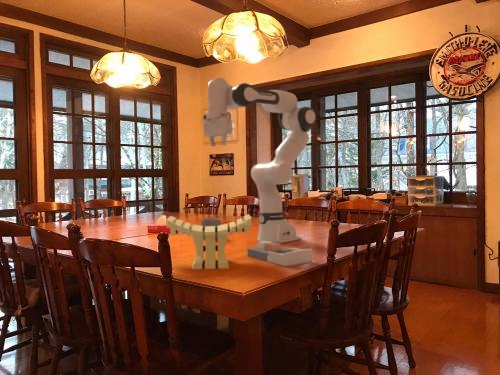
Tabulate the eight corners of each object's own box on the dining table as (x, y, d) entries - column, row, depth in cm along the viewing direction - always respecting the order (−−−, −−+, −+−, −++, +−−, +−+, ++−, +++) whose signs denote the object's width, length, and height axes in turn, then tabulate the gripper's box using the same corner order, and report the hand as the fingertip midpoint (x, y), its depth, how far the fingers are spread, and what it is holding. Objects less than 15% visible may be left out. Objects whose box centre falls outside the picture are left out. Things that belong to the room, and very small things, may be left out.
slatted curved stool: (248, 258, 162) (248, 213, 161) (252, 267, 146) (251, 217, 145) (172, 260, 159) (171, 215, 159) (167, 270, 144) (166, 219, 143)
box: (293, 257, 162) (293, 244, 162) (312, 262, 153) (312, 248, 153) (267, 261, 155) (267, 248, 155) (285, 267, 146) (285, 253, 146)
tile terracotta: (274, 248, 165) (274, 242, 165) (281, 250, 161) (281, 244, 161) (265, 249, 163) (265, 243, 163) (272, 251, 159) (272, 245, 159)
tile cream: (266, 246, 170) (266, 240, 170) (273, 248, 166) (273, 242, 166) (257, 247, 167) (257, 241, 167) (264, 249, 163) (264, 243, 163)
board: (273, 252, 173) (273, 245, 173) (292, 257, 162) (292, 249, 162) (247, 255, 166) (247, 248, 166) (266, 261, 155) (266, 253, 155)
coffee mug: (217, 240, 205) (217, 220, 205) (199, 240, 207) (198, 220, 207) (224, 236, 219) (224, 217, 218) (206, 235, 220) (206, 217, 220)
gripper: (235, 112, 176) (236, 144, 177) (213, 117, 193) (213, 147, 194) (222, 111, 173) (223, 144, 173) (201, 117, 190) (201, 146, 190)
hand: (218, 145), depth 184 cm, fingers open, 8 cm apart
